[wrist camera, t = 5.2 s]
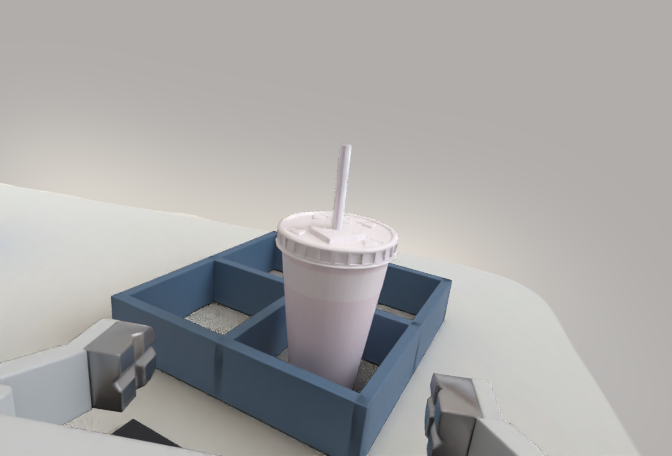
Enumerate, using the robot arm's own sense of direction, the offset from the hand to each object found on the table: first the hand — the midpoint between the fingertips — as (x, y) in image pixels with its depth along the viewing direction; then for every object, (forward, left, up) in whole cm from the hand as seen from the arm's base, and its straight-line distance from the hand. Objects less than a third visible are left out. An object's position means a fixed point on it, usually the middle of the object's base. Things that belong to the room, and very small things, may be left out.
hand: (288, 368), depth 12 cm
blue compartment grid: (-8, +14, -9) cm, 18 cm away
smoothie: (-4, +10, -9) cm, 14 cm away
